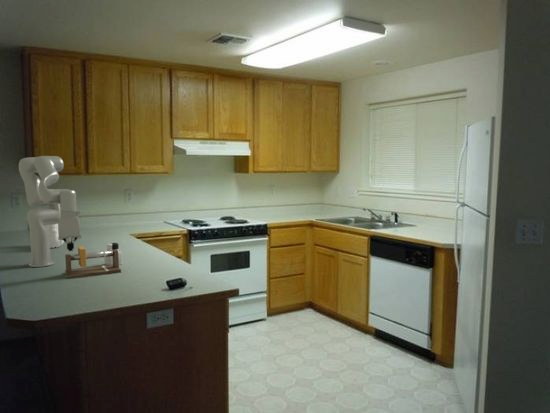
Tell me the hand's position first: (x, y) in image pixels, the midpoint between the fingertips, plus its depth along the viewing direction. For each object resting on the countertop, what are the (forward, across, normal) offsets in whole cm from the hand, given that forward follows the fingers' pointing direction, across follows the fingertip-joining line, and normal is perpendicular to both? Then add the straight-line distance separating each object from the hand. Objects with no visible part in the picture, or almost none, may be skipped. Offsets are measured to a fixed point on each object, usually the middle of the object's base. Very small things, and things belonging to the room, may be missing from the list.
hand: (70, 250), depth 233 cm
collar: (+8, -5, 0) cm, 10 cm away
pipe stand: (+13, -10, 0) cm, 16 cm away
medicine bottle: (+13, -23, -15) cm, 30 cm away
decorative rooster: (+13, +3, -88) cm, 89 cm away
